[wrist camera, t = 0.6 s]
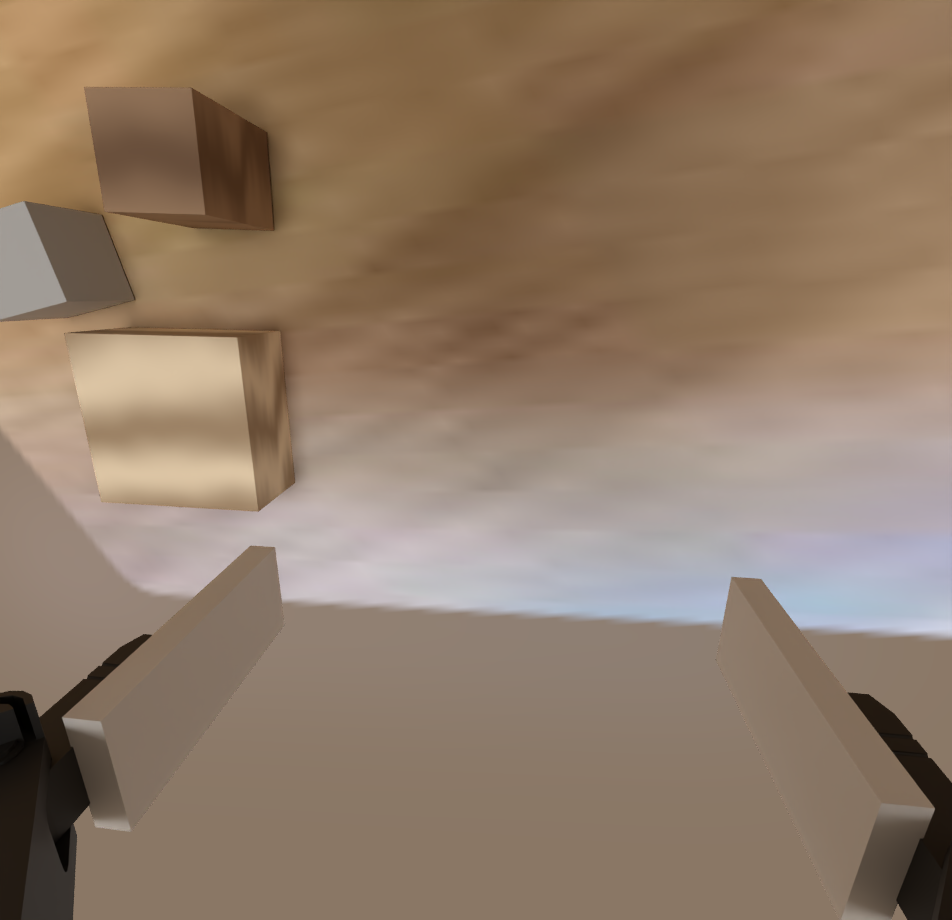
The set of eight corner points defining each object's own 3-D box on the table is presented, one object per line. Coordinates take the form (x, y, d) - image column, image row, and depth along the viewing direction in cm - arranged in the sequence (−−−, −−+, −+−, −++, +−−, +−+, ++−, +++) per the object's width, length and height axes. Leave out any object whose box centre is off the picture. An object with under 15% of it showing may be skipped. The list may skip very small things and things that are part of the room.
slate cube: (32, 235, 39) (-55, 225, 33) (101, 214, 38) (24, 201, 32) (67, 317, 40) (-10, 322, 35) (134, 299, 39) (66, 301, 34)
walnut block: (181, 130, 35) (84, 86, 28) (266, 132, 35) (191, 87, 27) (192, 227, 37) (104, 211, 29) (273, 230, 36) (205, 214, 29)
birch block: (130, 327, 40) (64, 333, 34) (280, 330, 39) (237, 337, 33) (157, 474, 44) (101, 502, 38) (295, 482, 43) (258, 511, 37)
